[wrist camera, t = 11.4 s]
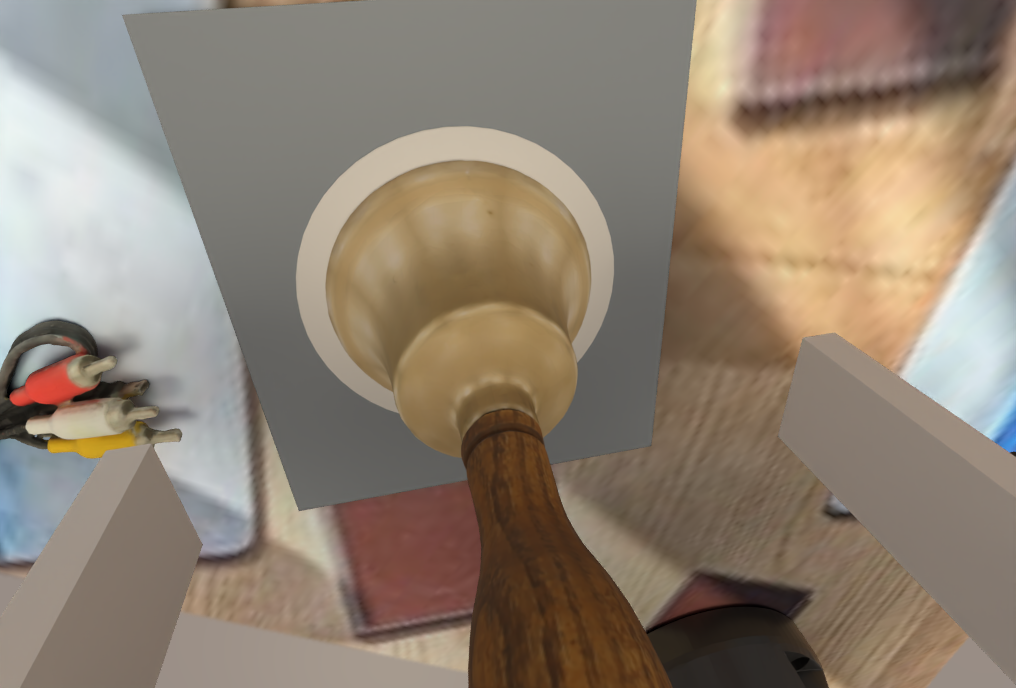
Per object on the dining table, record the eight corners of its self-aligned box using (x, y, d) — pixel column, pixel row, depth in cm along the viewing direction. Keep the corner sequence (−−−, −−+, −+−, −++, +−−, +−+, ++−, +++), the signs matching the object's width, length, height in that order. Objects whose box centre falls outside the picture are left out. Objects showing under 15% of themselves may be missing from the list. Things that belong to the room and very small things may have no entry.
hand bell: (370, 425, 19) (347, 1364, 6) (283, 193, 15) (-589, 1789, 1) (597, 369, 20) (1041, 1091, 7) (577, 132, 16) (1786, 839, 2)
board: (639, 427, 24) (652, 447, 23) (302, 488, 22) (298, 513, 21) (677, -17, 16) (700, -20, 14) (141, 15, 14) (120, 14, 12)
